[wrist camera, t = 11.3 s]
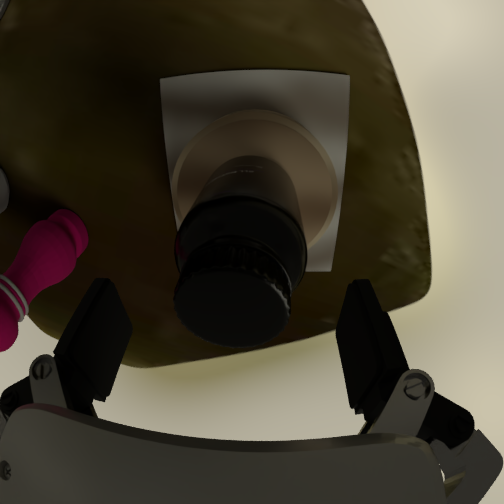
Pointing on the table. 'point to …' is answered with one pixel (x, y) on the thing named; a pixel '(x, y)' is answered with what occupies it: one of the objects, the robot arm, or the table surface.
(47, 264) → the pepper mill
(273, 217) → the supplement bottle
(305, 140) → the pedestal
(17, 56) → the table surface
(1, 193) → the can
